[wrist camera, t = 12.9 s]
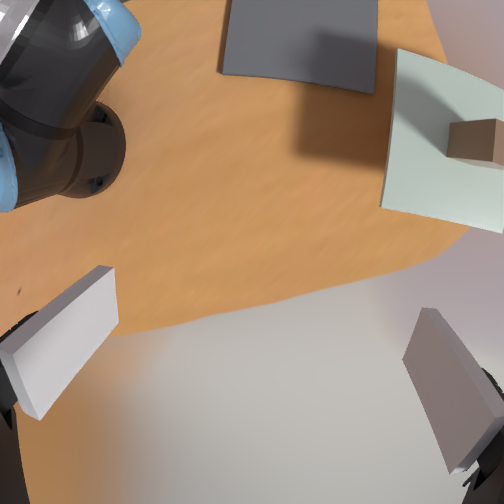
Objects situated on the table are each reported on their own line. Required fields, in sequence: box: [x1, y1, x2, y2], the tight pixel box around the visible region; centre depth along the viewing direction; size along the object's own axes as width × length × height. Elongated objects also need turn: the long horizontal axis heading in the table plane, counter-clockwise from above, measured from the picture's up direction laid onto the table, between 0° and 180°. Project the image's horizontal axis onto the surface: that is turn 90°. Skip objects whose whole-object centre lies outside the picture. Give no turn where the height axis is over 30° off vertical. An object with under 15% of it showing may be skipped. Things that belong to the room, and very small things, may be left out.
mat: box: [222, 0, 378, 95], centre depth 33 cm, size 20×20×1 cm
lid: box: [379, 48, 504, 233], centre depth 24 cm, size 18×18×10 cm
